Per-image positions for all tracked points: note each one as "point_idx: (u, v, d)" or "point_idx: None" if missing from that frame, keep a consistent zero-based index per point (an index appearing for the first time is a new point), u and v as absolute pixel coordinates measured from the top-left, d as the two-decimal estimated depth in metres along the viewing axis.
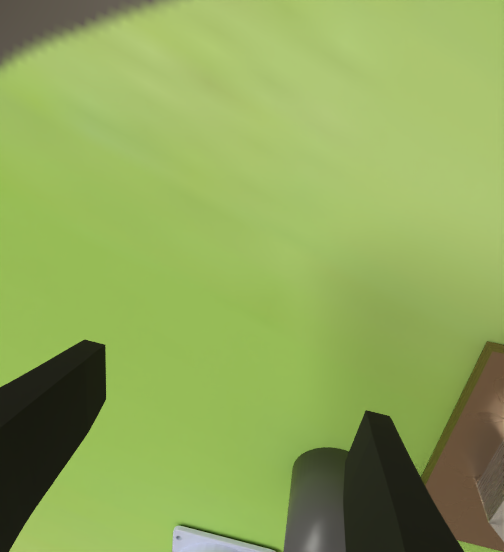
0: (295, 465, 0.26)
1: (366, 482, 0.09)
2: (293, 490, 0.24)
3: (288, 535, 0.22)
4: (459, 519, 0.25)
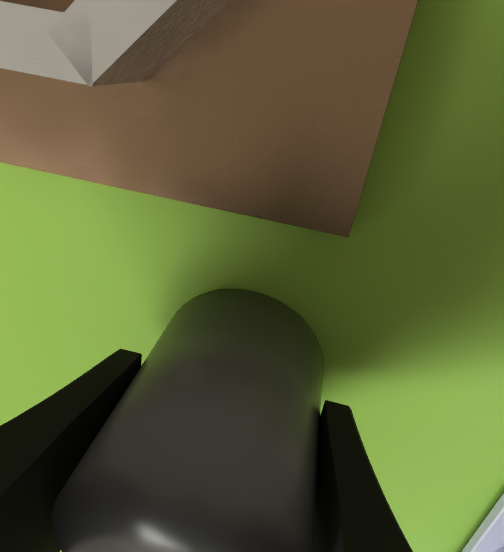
0: None
1: (320, 470, 0.09)
2: None
3: None
4: (290, 99, 0.09)
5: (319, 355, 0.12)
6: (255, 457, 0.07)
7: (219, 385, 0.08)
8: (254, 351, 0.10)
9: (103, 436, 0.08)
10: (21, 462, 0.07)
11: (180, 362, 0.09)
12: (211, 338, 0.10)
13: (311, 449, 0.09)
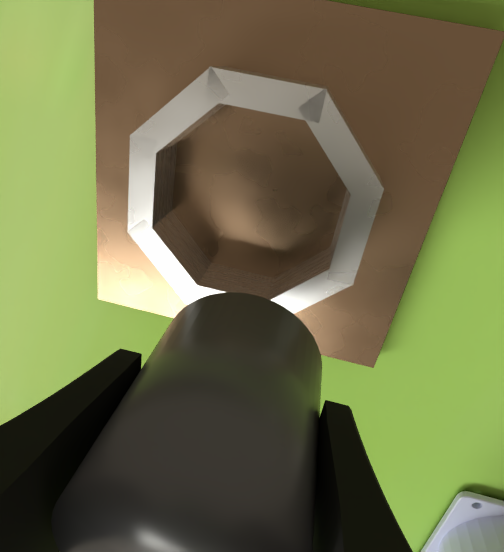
0: None
1: (320, 470, 0.09)
2: None
3: None
4: (348, 311, 0.19)
5: (318, 357, 0.12)
6: (252, 460, 0.07)
7: (217, 389, 0.08)
8: (252, 354, 0.10)
9: (101, 441, 0.08)
10: (21, 462, 0.07)
11: (177, 366, 0.09)
12: (208, 341, 0.10)
13: (309, 451, 0.09)
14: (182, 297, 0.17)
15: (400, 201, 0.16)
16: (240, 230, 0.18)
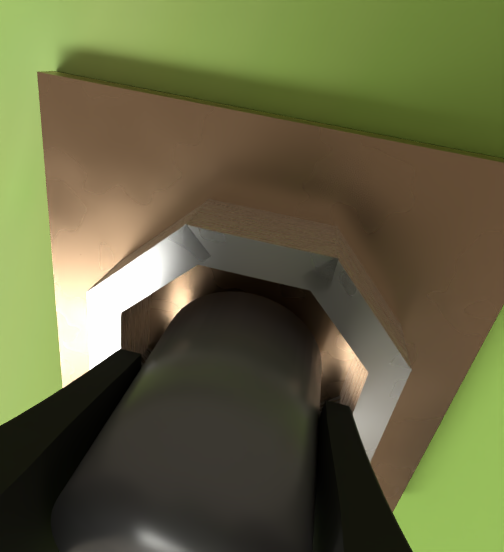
0: None
1: (320, 470, 0.09)
2: None
3: None
4: None
5: (318, 356, 0.12)
6: (252, 459, 0.07)
7: (216, 388, 0.08)
8: (251, 353, 0.10)
9: (101, 440, 0.08)
10: (21, 462, 0.07)
11: (177, 365, 0.09)
12: (208, 340, 0.10)
13: (309, 450, 0.09)
14: None
15: (427, 353, 0.13)
16: None
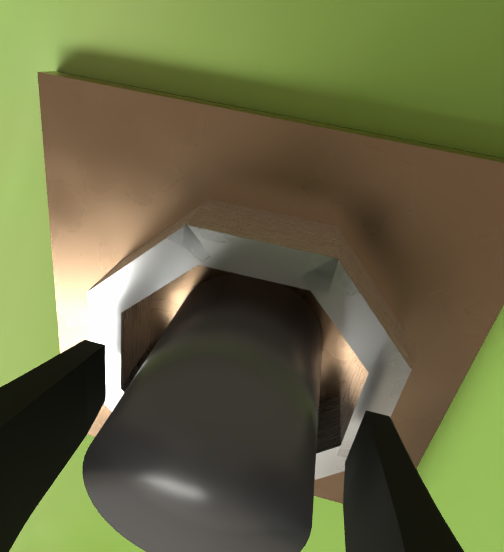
0: None
1: (366, 482, 0.09)
2: None
3: None
4: None
5: (319, 333, 0.13)
6: (260, 410, 0.08)
7: (228, 352, 0.09)
8: (259, 324, 0.11)
9: (127, 396, 0.09)
10: None
11: (193, 334, 0.10)
12: (220, 314, 0.11)
13: (311, 410, 0.10)
14: None
15: (427, 353, 0.13)
16: None
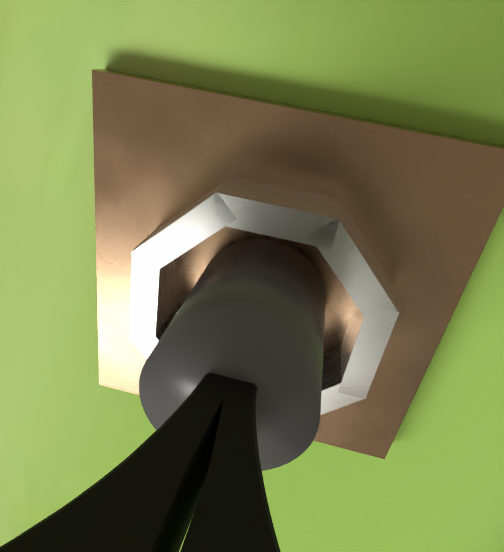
0: None
1: None
2: None
3: None
4: (359, 406, 0.18)
5: (323, 288, 0.15)
6: (279, 328, 0.11)
7: (252, 291, 0.12)
8: (274, 274, 0.13)
9: (173, 324, 0.11)
10: (160, 501, 0.07)
11: (222, 280, 0.13)
12: (242, 266, 0.13)
13: (318, 339, 0.12)
14: None
15: (414, 307, 0.15)
16: None
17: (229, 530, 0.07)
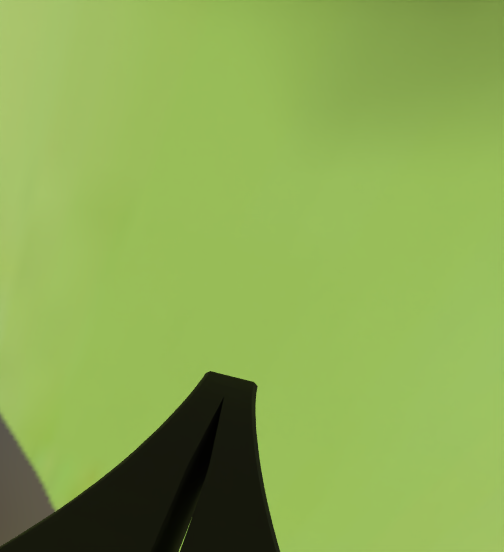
0: None
1: None
2: None
3: None
4: None
5: None
6: None
7: None
8: None
9: None
10: (159, 501, 0.07)
11: None
12: None
13: None
14: None
15: None
16: None
17: (228, 530, 0.07)
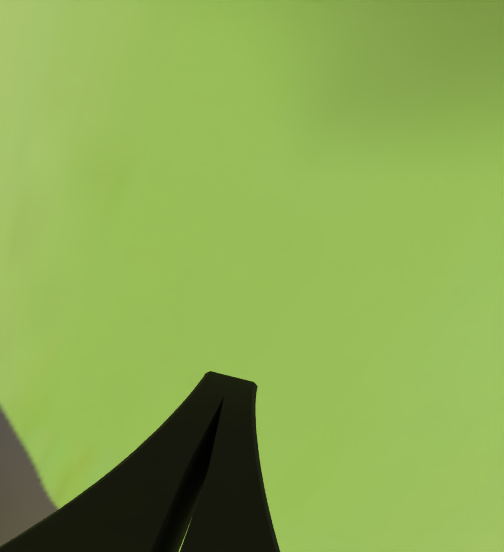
0: None
1: None
2: None
3: None
4: None
5: None
6: None
7: None
8: None
9: None
10: (159, 501, 0.07)
11: None
12: None
13: None
14: None
15: None
16: None
17: (229, 530, 0.07)
